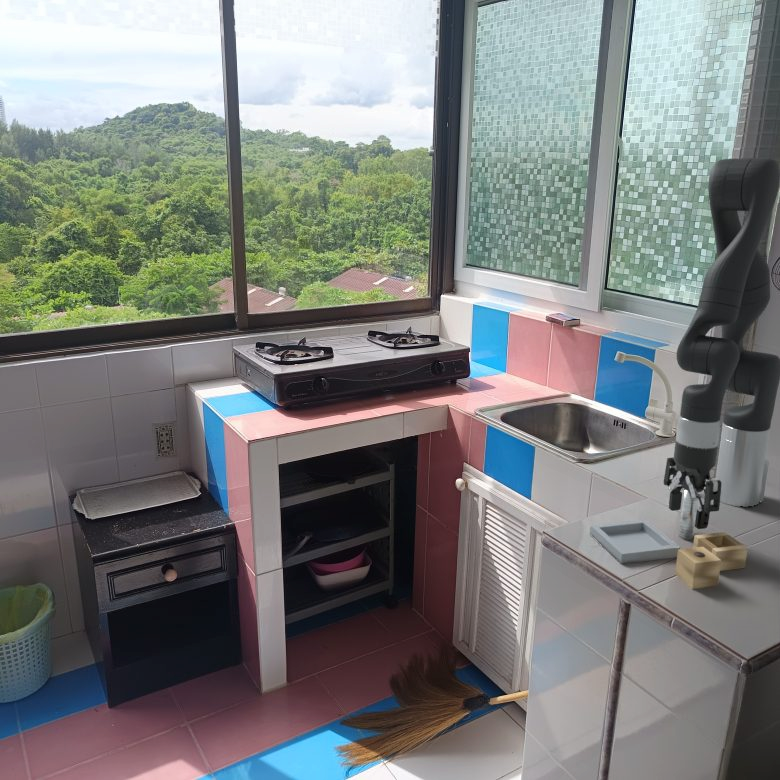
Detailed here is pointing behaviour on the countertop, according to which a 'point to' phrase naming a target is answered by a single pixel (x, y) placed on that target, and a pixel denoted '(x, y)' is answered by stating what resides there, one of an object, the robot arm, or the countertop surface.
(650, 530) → the tray
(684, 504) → the cylinder
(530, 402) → the countertop surface
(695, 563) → the block
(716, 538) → the oak block
